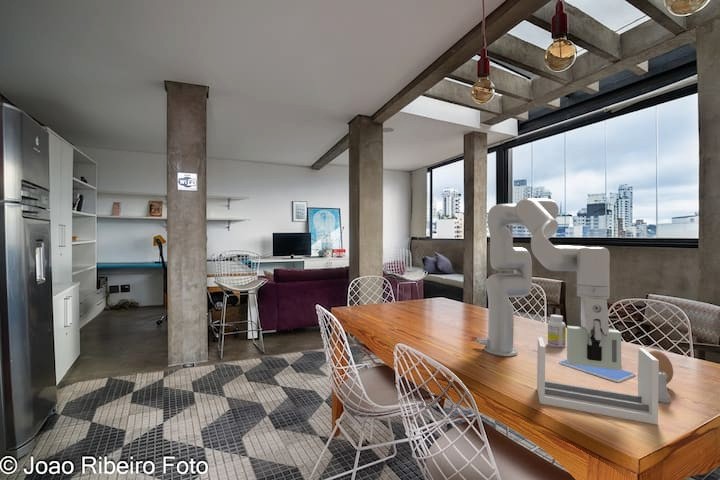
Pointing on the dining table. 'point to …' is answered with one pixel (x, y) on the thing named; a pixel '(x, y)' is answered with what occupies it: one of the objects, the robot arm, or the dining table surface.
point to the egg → (663, 364)
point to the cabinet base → (605, 392)
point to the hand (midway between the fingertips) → (592, 357)
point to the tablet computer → (602, 372)
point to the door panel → (579, 341)
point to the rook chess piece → (663, 388)
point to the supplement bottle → (556, 331)
